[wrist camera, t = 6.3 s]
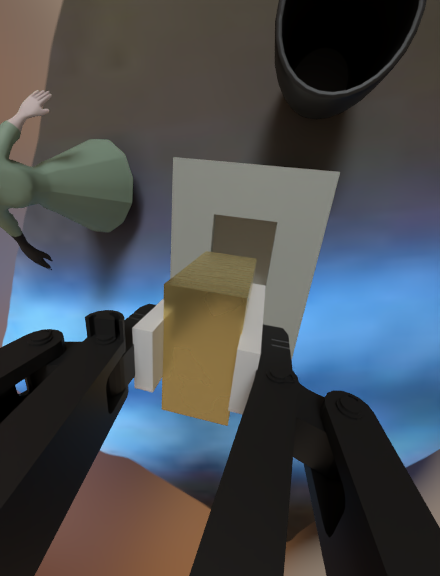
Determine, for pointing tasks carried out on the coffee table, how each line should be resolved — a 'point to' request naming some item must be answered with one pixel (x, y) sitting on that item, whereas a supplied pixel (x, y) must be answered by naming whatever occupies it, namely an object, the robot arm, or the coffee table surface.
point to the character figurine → (63, 181)
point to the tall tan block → (204, 334)
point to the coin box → (255, 226)
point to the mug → (339, 49)
